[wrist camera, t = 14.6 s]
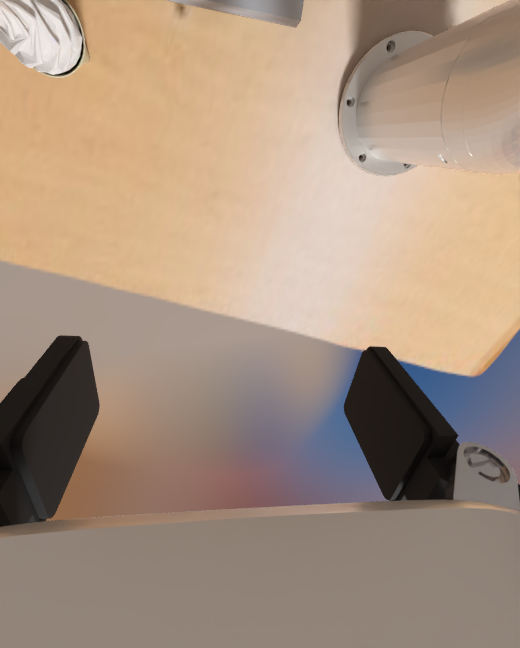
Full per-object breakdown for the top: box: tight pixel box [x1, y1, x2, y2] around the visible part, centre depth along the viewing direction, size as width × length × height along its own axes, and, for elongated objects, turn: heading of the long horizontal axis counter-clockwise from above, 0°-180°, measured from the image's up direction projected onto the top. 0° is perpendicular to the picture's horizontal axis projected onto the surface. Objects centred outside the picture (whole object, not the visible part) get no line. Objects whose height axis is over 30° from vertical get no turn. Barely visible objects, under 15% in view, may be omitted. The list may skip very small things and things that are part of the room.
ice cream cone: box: [0, 0, 90, 78], centre depth 22 cm, size 5×5×15 cm
